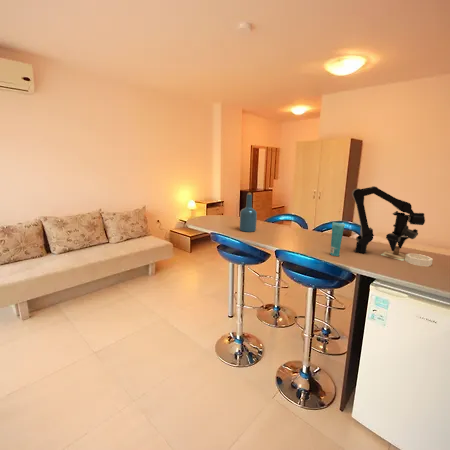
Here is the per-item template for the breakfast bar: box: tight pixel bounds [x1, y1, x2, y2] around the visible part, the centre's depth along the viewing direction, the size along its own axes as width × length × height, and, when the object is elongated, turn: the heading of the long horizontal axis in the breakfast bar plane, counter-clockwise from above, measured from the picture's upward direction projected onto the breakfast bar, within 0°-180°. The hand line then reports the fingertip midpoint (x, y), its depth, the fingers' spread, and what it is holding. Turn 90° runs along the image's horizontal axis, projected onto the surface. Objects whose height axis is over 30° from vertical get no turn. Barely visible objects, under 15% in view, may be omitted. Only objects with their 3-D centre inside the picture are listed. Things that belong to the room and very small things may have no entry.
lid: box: [383, 245, 406, 260], centre depth 153 cm, size 12×12×5 cm
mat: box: [380, 252, 405, 262], centre depth 154 cm, size 12×12×1 cm
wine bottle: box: [239, 192, 258, 233], centre depth 205 cm, size 14×13×30 cm
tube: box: [329, 221, 346, 257], centre depth 152 cm, size 7×5×19 cm, turn 47°
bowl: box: [404, 252, 434, 268], centre depth 143 cm, size 11×11×4 cm
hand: (396, 249), depth 153 cm, fingers open, 9 cm apart
